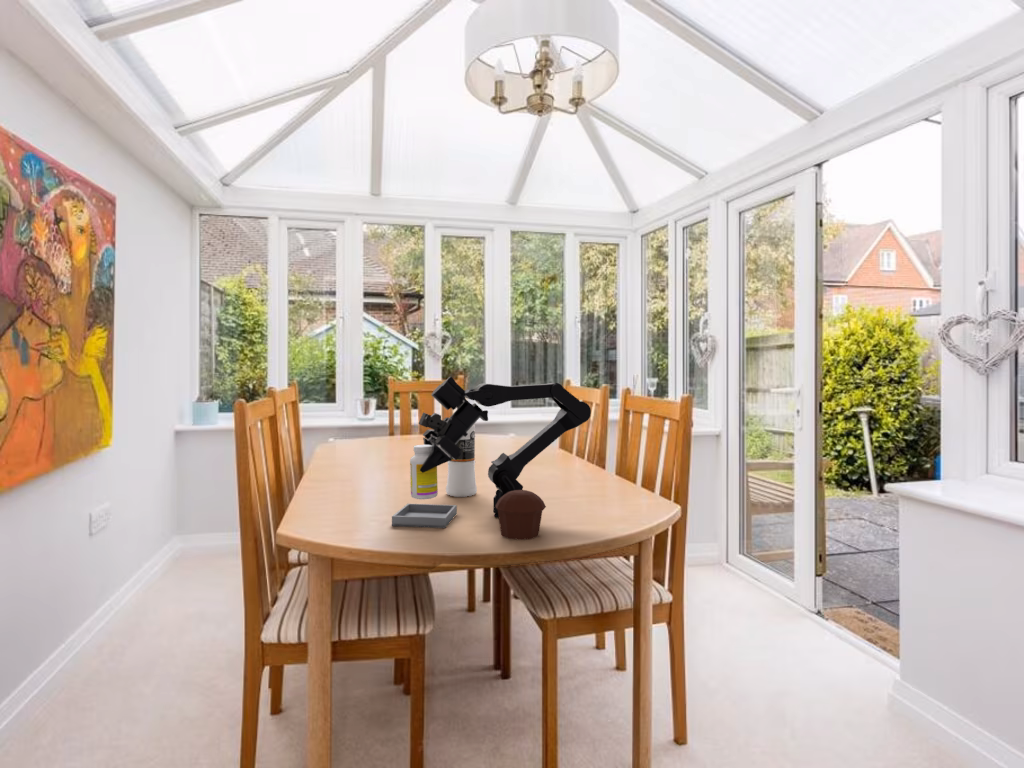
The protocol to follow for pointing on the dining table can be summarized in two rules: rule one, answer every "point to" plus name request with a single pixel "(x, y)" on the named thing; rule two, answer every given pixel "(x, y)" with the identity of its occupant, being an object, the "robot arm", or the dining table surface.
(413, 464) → the supplement bottle
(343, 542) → the dining table surface
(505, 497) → the muffin
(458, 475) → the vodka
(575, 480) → the dining table surface
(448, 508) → the tray
